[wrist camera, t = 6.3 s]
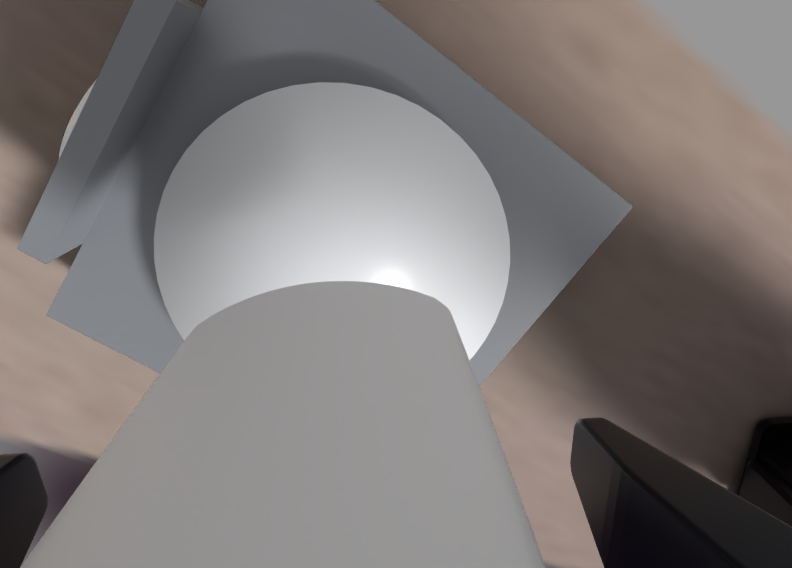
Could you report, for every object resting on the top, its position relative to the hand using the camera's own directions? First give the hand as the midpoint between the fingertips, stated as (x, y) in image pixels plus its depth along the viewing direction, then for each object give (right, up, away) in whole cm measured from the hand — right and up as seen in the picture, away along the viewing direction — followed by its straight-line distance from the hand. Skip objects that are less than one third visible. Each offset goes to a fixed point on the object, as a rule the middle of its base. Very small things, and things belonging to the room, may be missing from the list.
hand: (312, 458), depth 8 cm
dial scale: (-1, +5, +12) cm, 13 cm away
